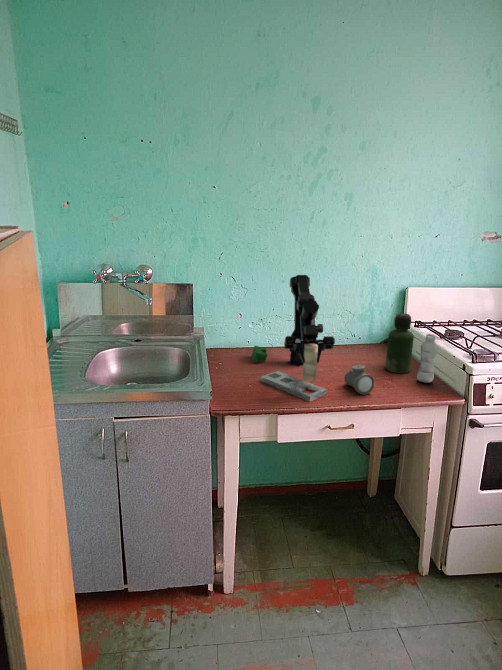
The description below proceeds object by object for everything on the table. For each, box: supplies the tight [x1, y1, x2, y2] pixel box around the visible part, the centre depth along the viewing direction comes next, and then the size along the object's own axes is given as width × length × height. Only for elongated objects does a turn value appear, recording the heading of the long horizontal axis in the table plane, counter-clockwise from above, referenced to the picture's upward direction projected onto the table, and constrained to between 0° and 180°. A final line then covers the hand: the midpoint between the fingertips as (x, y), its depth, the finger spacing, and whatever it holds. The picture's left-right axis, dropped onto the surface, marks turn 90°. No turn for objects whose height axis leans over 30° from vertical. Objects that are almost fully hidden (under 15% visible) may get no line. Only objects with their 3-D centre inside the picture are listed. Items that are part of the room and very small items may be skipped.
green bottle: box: [384, 312, 415, 374], centre depth 206 cm, size 10×10×25 cm
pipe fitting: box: [343, 364, 375, 396], centre depth 187 cm, size 12×8×10 cm
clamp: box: [251, 345, 268, 364], centre depth 218 cm, size 11×6×8 cm, turn 177°
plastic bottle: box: [416, 333, 438, 384], centre depth 194 cm, size 6×7×20 cm
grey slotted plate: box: [260, 370, 328, 402], centre depth 188 cm, size 10×26×2 cm, turn 43°
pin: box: [302, 343, 318, 381], centre depth 179 cm, size 5×5×13 cm
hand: (310, 362), depth 177 cm, fingers closed on pin, 5 cm apart
